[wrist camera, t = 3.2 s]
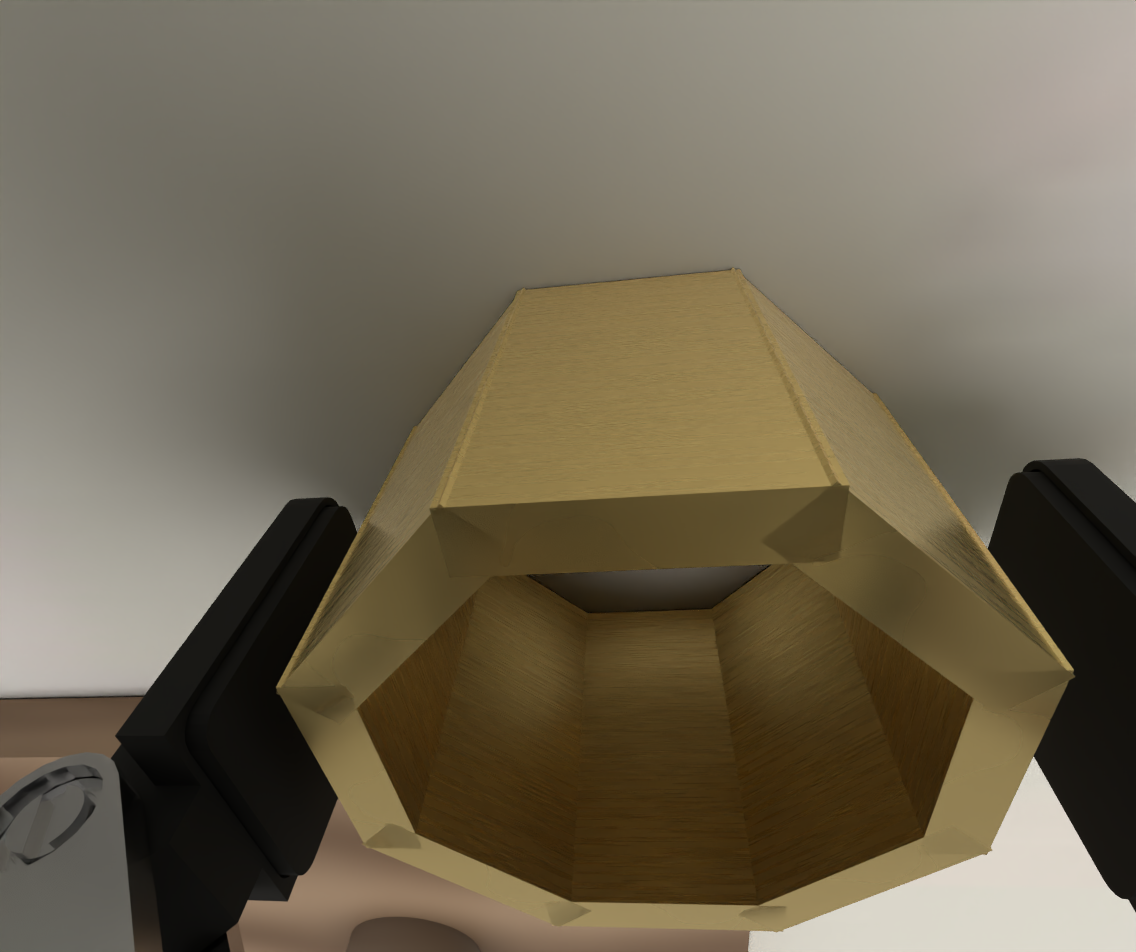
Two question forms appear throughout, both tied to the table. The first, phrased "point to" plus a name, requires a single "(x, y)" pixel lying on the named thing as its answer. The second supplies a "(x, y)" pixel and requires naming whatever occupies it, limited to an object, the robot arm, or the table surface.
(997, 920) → the table surface
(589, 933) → the post board
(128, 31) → the table surface
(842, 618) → the brass ring
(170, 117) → the table surface
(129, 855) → the robot arm
